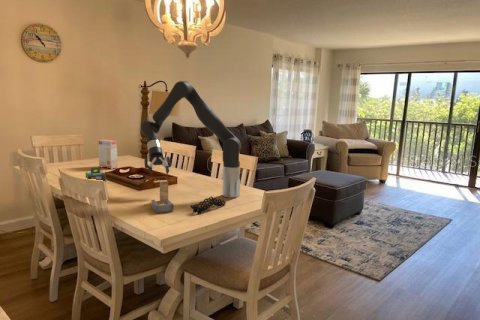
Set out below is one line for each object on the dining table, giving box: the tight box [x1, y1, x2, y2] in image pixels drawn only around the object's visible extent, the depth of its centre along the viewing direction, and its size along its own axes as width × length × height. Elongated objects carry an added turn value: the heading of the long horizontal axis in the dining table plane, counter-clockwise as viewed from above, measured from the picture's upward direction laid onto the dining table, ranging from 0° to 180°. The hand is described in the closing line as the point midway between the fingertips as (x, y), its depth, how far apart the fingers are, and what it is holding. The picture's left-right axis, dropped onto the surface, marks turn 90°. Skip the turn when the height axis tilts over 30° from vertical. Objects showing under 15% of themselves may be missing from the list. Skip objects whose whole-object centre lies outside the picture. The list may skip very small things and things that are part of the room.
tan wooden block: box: [159, 179, 169, 204], centre depth 185 cm, size 4×4×11 cm
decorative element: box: [190, 196, 227, 215], centre depth 176 cm, size 22×5×6 cm, turn 141°
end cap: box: [150, 198, 174, 214], centre depth 173 cm, size 11×8×4 cm
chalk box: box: [85, 166, 107, 182], centre depth 196 cm, size 9×9×15 cm
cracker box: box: [98, 138, 118, 169], centre depth 264 cm, size 14×6×21 cm, turn 58°
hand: (159, 173), depth 192 cm, fingers open, 8 cm apart
